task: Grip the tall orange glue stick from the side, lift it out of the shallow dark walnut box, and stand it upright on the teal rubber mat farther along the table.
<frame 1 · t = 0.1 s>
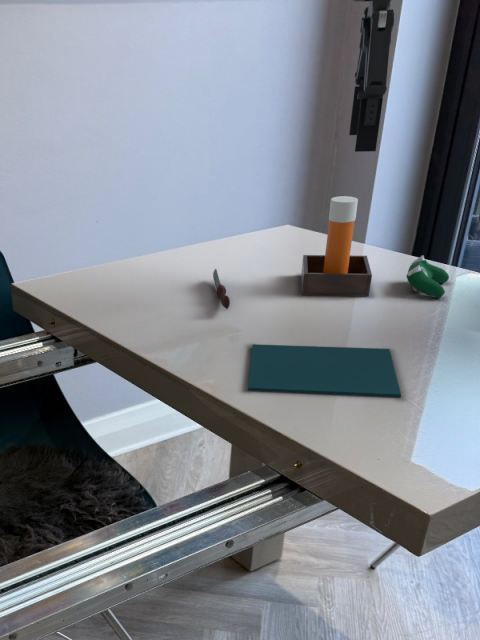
hand: (361, 142, 114), 22 cm above the table, tool pointing down, fingers open, 13 cm apart
glue stick: (334, 282, 127), resting on box
gaming controller: (425, 290, 124), on the table
box: (333, 285, 128), on the table
knife: (219, 298, 126), on the table
mat: (321, 370, 101), on the table
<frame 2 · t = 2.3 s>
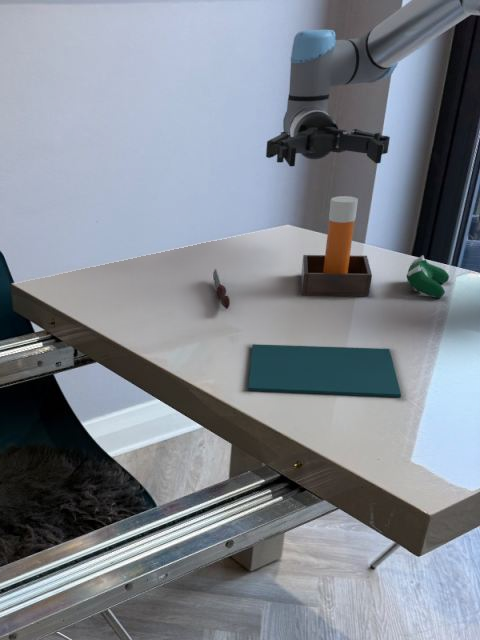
hand: (336, 155, 126), 18 cm above the table, tool horizontal, fingers open, 13 cm apart
nothing on the table moved.
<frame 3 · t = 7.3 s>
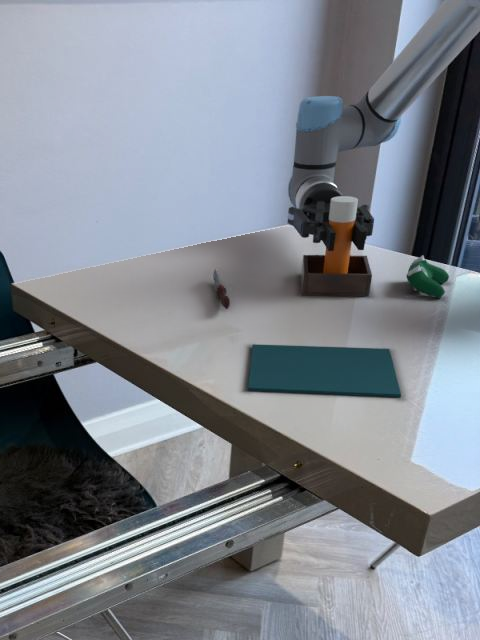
hand: (347, 241, 119), 8 cm above the table, tool horizontal, fingers closed on glue stick, 4 cm apart
glue stick: (333, 282, 128), resting on box, touching gripper
everything else where it was.
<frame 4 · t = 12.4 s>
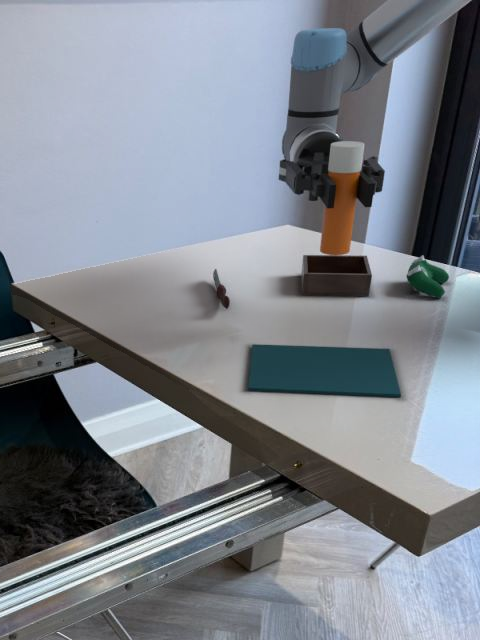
hand: (350, 196, 95), 20 cm above the table, tool horizontal, fingers closed on glue stick, 4 cm apart
glue stick: (334, 251, 103), point 12 cm above the table, touching gripper
everything else where it was.
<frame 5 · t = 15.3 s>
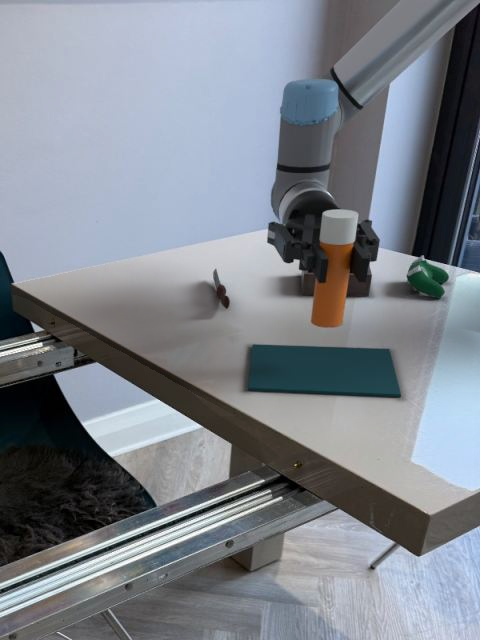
hand: (343, 270, 88), 15 cm above the table, tool horizontal, fingers closed on glue stick, 4 cm apart
glue stick: (326, 322, 97), point 6 cm above the table, touching gripper
everything else where it was.
when the fingers open (8 cm above the table, at t = 17.3 s): glue stick stays where it is, resting on mat.
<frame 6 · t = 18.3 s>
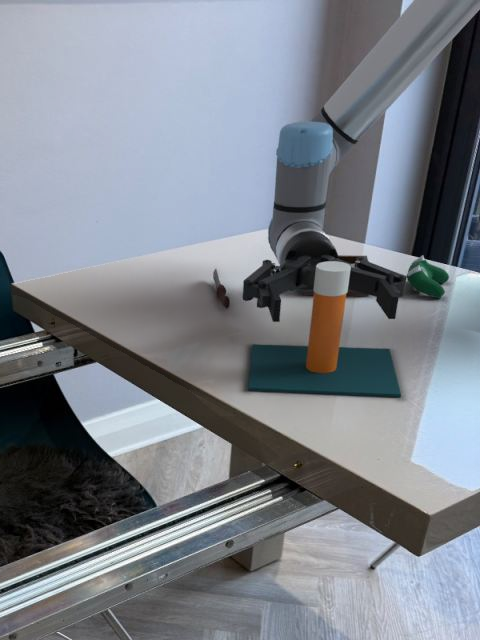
hand: (335, 309, 93), 9 cm above the table, tool horizontal, fingers open, 13 cm apart
glue stick: (320, 367, 101), resting on mat
everything else where it was.
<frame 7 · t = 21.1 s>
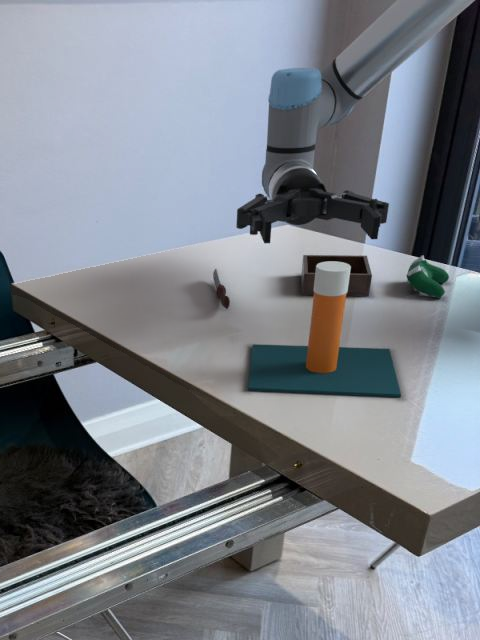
hand: (321, 230, 100), 15 cm above the table, tool horizontal, fingers open, 13 cm apart
nothing on the table moved.
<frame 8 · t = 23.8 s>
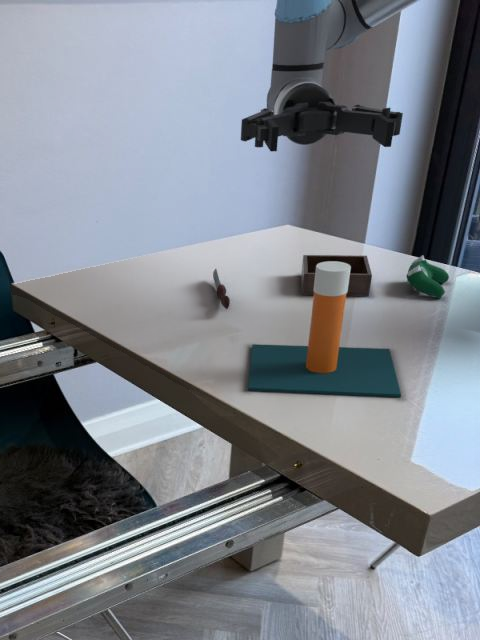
hand: (331, 137, 94), 26 cm above the table, tool horizontal, fingers open, 13 cm apart
nothing on the table moved.
at the end: glue stick inside the target area on the mat (0.1 cm from its centre), point 0.4 cm above the mat's base; glue stick tilted 0°; the gripper is holding nothing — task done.
